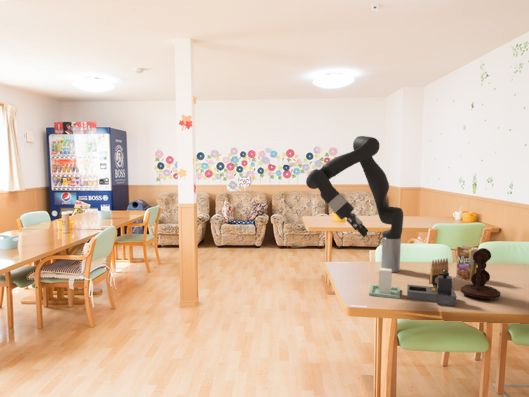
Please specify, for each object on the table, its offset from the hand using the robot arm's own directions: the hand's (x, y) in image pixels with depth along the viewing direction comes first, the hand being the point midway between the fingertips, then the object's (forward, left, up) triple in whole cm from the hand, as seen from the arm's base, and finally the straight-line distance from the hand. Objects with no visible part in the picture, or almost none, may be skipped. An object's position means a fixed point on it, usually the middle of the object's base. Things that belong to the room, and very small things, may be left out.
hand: (366, 234), depth 174 cm
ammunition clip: (-20, +32, -25) cm, 45 cm away
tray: (+4, +9, -25) cm, 27 cm away
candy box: (-34, +45, -25) cm, 62 cm away
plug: (+4, +9, -24) cm, 26 cm away
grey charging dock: (+4, +27, -25) cm, 37 cm away
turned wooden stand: (-8, +47, -25) cm, 54 cm away
